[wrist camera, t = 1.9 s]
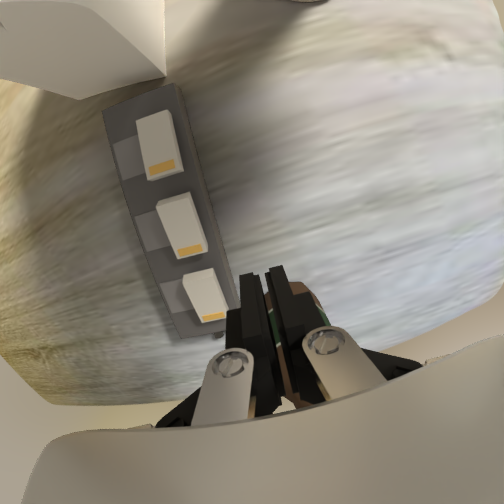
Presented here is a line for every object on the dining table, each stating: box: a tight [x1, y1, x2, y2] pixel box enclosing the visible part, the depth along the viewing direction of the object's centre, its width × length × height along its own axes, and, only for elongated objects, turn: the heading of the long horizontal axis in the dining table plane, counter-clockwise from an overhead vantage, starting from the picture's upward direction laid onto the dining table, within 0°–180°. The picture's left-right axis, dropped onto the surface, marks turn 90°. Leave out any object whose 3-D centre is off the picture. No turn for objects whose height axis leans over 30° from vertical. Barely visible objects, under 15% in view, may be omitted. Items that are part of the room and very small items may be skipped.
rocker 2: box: [182, 268, 229, 323], centre depth 30 cm, size 6×3×2 cm, turn 15°
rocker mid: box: [156, 192, 208, 259], centre depth 27 cm, size 6×3×2 cm, turn 15°
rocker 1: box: [136, 109, 184, 181], centre depth 24 cm, size 6×3×2 cm, turn 13°
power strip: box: [102, 83, 241, 339], centre depth 31 cm, size 31×8×4 cm, turn 14°
